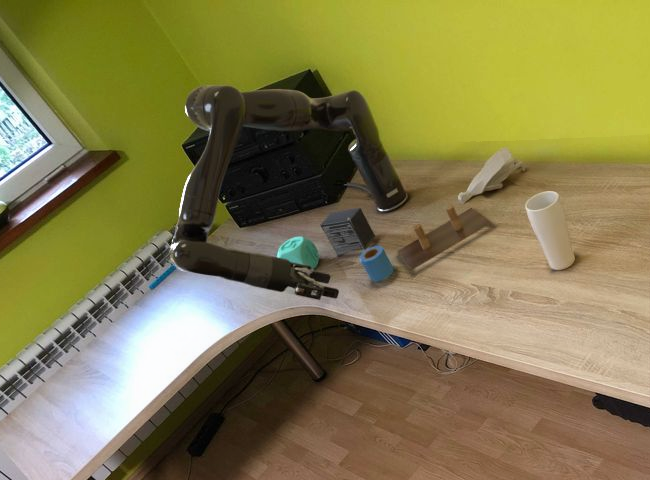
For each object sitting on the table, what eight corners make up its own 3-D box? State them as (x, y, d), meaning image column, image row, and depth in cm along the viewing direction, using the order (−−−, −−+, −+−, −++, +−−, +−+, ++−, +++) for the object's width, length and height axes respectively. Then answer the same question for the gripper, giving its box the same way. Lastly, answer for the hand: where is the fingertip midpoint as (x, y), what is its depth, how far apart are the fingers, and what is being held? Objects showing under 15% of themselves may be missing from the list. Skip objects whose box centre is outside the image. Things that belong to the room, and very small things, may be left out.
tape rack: (398, 256, 160) (385, 232, 155) (473, 212, 161) (462, 186, 157) (414, 274, 150) (401, 249, 146) (493, 227, 152) (483, 201, 147)
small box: (379, 238, 171) (361, 205, 165) (368, 253, 168) (349, 220, 161) (348, 242, 177) (330, 211, 171) (337, 257, 173) (318, 225, 167)
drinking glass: (581, 250, 131) (561, 187, 122) (576, 271, 126) (556, 206, 118) (549, 255, 134) (528, 194, 125) (543, 275, 130) (521, 213, 121)
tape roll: (370, 279, 157) (356, 255, 152) (391, 267, 157) (378, 242, 153) (377, 289, 152) (363, 264, 148) (399, 276, 152) (385, 251, 148)
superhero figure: (512, 168, 173) (451, 201, 169) (504, 135, 168) (441, 169, 163) (534, 175, 165) (471, 210, 161) (527, 142, 160) (461, 177, 155)
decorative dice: (310, 275, 172) (295, 251, 167) (288, 279, 175) (272, 256, 171) (323, 257, 177) (308, 233, 172) (300, 261, 181) (286, 238, 176)
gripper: (275, 269, 136) (346, 284, 144) (265, 245, 148) (331, 260, 155) (266, 300, 139) (335, 313, 147) (257, 274, 150) (322, 288, 158)
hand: (333, 286), depth 151 cm, fingers open, 8 cm apart
